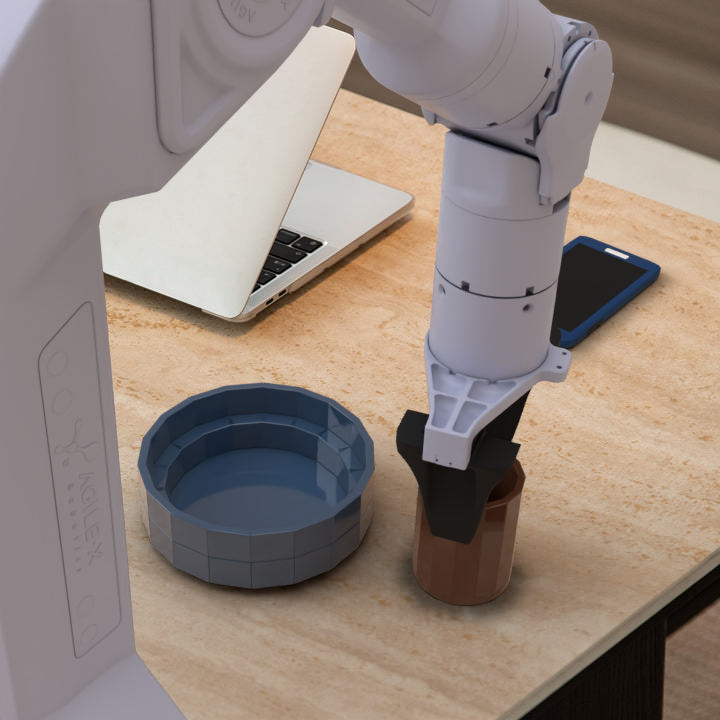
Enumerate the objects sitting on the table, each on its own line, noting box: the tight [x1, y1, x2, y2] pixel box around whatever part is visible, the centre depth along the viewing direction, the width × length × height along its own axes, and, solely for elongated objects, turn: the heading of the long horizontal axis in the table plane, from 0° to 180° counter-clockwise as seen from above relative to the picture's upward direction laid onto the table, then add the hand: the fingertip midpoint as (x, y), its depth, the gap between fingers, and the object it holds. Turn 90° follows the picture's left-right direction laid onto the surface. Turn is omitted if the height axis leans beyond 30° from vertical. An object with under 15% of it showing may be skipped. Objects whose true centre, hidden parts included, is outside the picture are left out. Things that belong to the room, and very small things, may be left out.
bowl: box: [136, 381, 376, 590], centre depth 70 cm, size 13×13×4 cm
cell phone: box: [552, 235, 662, 349], centre depth 92 cm, size 7×14×1 cm, turn 141°
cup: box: [411, 458, 527, 606], centre depth 66 cm, size 5×6×7 cm
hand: (471, 487), depth 65 cm, fingers open, 7 cm apart
